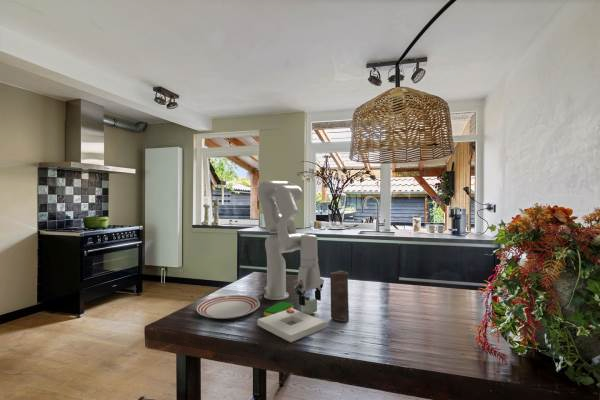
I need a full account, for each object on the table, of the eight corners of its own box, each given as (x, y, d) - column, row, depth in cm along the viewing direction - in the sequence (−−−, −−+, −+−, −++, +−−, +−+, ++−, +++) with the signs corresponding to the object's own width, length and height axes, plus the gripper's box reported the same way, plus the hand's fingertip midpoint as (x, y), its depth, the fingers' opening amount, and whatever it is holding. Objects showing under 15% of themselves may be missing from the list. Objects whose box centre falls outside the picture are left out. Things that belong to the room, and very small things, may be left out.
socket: (257, 325, 121) (257, 317, 121) (291, 313, 134) (291, 306, 134) (290, 342, 107) (290, 333, 107) (325, 327, 119) (325, 319, 119)
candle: (334, 324, 122) (334, 274, 122) (327, 317, 129) (327, 270, 129) (351, 322, 124) (351, 272, 124) (344, 315, 131) (344, 268, 131)
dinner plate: (254, 324, 123) (254, 315, 123) (186, 323, 124) (186, 315, 124) (263, 301, 151) (263, 294, 151) (208, 301, 151) (208, 294, 151)
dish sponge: (293, 308, 141) (293, 303, 141) (277, 319, 129) (277, 313, 129) (280, 306, 144) (280, 301, 144) (263, 316, 132) (263, 310, 132)
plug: (300, 312, 135) (300, 297, 135) (308, 309, 138) (308, 294, 138) (308, 316, 131) (308, 299, 131) (317, 313, 134) (317, 297, 134)
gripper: (316, 259, 143) (317, 296, 142) (288, 264, 131) (289, 305, 130) (328, 261, 137) (329, 299, 137) (300, 266, 125) (301, 309, 125)
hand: (310, 302), depth 134 cm, fingers open, 9 cm apart
